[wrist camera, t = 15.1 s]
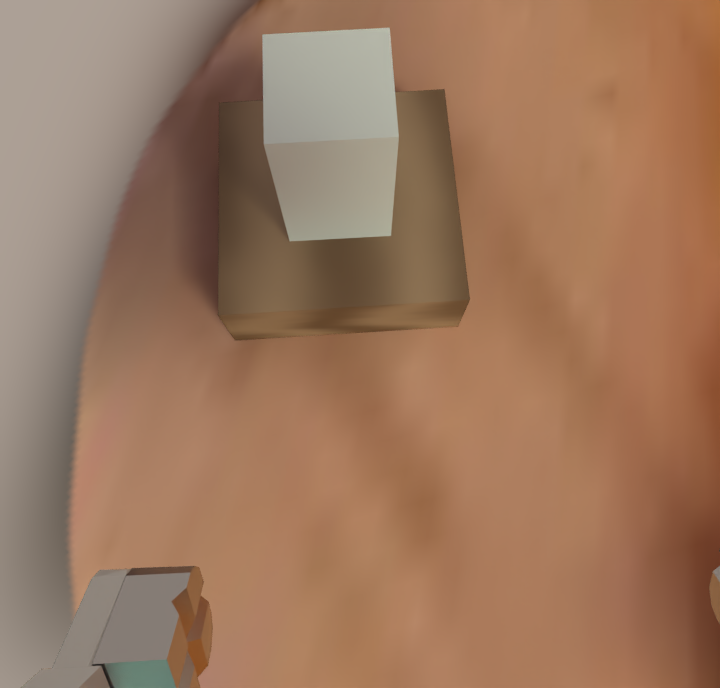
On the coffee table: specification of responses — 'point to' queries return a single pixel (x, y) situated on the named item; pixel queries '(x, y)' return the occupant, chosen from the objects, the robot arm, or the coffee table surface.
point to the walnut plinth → (340, 256)
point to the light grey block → (331, 131)
